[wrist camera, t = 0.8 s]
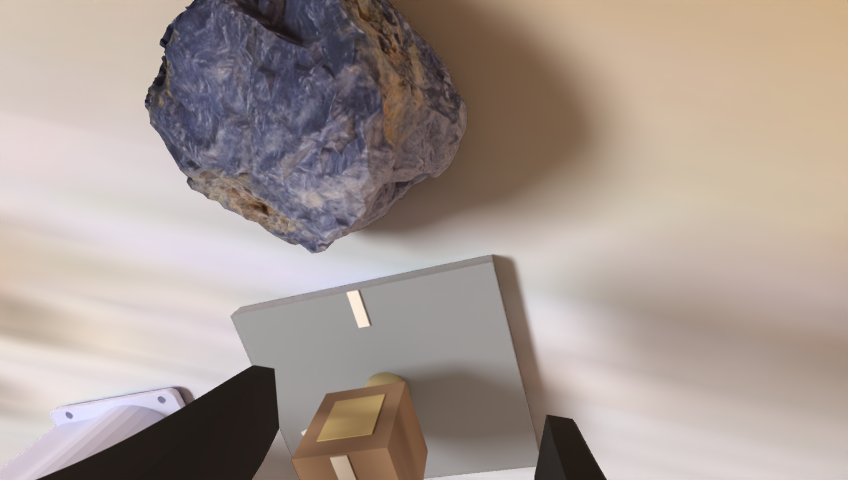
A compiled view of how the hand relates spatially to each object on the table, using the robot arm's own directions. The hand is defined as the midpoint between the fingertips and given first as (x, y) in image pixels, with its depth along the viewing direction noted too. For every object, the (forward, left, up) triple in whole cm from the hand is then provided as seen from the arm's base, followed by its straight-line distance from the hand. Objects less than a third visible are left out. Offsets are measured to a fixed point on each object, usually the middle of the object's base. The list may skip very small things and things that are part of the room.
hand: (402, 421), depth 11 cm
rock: (-3, +8, -11) cm, 14 cm away
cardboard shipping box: (-4, -6, -8) cm, 10 cm away
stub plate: (-4, -6, -11) cm, 13 cm away
